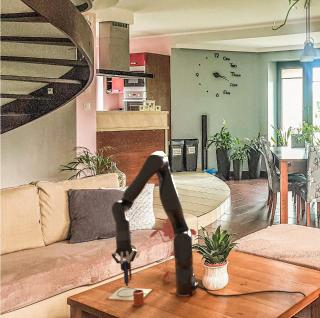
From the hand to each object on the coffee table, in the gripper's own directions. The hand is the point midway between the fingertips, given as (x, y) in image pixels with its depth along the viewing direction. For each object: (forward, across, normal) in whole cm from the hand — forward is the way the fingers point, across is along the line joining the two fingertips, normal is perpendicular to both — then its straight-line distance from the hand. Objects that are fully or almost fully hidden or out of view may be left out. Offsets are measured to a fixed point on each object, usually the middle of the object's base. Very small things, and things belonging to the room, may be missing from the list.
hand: (125, 269), depth 229 cm
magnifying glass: (+12, -3, -18) cm, 22 cm away
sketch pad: (+12, -1, +4) cm, 13 cm away
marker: (+9, 0, 0) cm, 9 cm away
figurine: (+13, -26, -11) cm, 31 cm away
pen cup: (+12, -5, +18) cm, 23 cm away
